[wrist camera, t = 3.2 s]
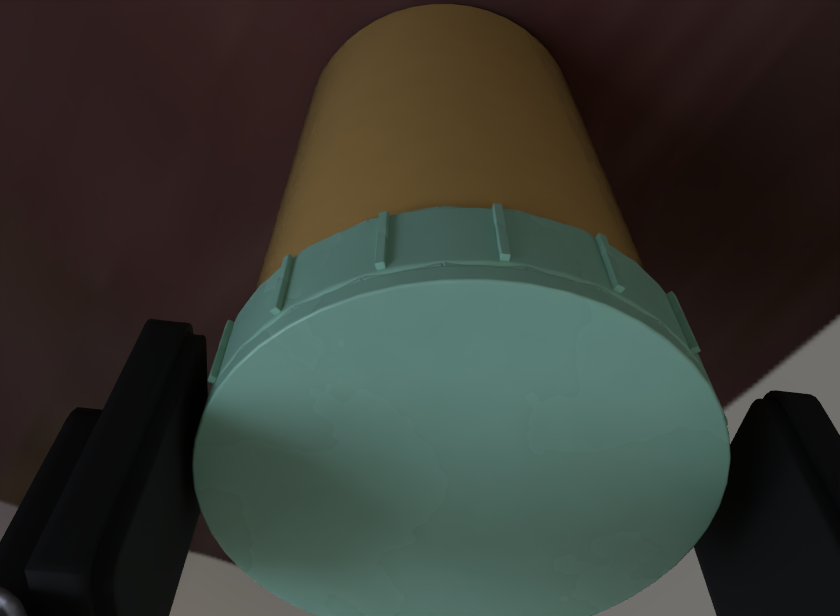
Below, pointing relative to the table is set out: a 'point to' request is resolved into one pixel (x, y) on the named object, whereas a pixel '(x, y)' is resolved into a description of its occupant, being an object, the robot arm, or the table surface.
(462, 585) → the lid
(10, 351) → the table surface
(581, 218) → the jam jar
